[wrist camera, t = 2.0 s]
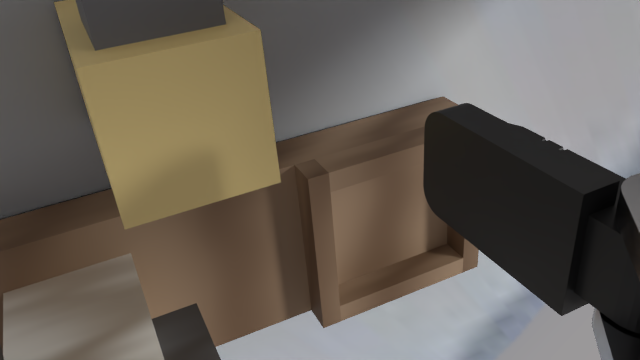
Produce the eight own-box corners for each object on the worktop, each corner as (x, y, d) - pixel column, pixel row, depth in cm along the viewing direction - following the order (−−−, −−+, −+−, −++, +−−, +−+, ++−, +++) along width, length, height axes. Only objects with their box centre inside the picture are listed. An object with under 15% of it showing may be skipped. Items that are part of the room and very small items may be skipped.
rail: (442, 96, 25) (614, 190, 18) (439, 229, 29) (581, 351, 22) (-81, 242, 19) (-134, 478, 12) (-3, 390, 22) (-7, 640, 15)
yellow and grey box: (207, 96, 21) (280, 182, 15) (91, 124, 20) (124, 229, 14) (176, -68, 18) (251, -35, 13) (38, -48, 17) (54, -2, 11)
